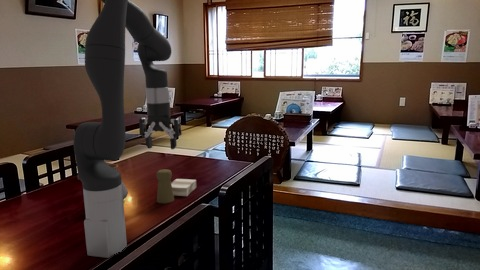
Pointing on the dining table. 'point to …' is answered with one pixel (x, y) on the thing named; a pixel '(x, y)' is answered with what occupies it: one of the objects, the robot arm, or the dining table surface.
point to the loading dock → (183, 187)
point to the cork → (164, 186)
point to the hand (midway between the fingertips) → (161, 148)
